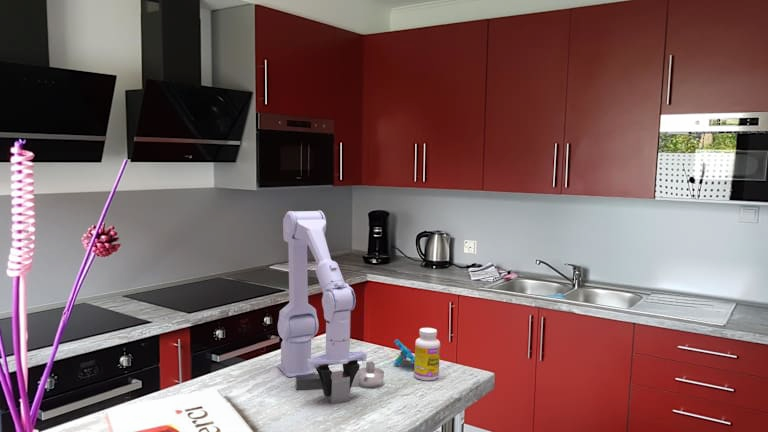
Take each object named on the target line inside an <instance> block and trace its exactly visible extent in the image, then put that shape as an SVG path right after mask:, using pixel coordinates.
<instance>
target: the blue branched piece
mask: <svg viewBox="0 0 768 432" xmlns="http://www.w3.org/2000/svg"><path fill="white" fill-rule="evenodd" d="M394 343H395V345H396V346H397V347H398V348H399V350H400V352H399V353H400V354H399V355H398V356H397V357H396V358H395V359H394V360H395V362H394V363H393V365H394V366H395V367H398V366H399V365H400V364H401V363H402V361H403V360H406V359H407V358H408V359H410V360H411V362H412V364H413V365H415V354H413V353H412V350H410V349H408V347H406V345H404V344H403V343H402V342H401V341H400V340H399V339H397V338H396V339H395V340H394Z"/></svg>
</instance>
